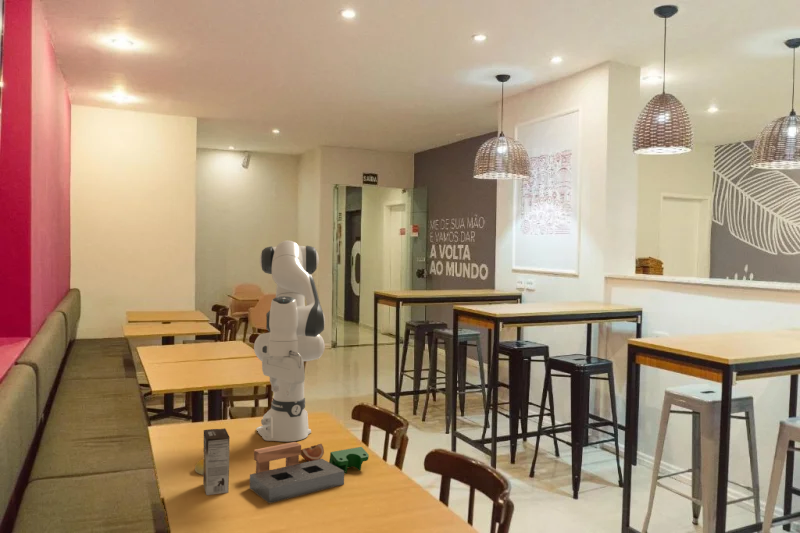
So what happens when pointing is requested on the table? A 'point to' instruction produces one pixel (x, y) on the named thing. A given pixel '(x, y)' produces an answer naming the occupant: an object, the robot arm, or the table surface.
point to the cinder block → (296, 480)
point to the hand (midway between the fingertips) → (282, 393)
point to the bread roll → (199, 466)
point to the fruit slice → (313, 452)
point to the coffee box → (216, 461)
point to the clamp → (348, 458)
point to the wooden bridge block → (277, 455)
